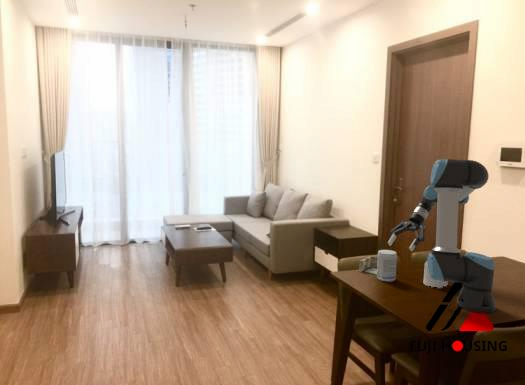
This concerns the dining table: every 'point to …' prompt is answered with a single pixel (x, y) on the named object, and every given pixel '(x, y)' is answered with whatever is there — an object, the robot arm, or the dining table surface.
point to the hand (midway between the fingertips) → (399, 247)
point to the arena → (368, 263)
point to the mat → (372, 270)
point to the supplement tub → (386, 265)
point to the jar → (430, 281)
